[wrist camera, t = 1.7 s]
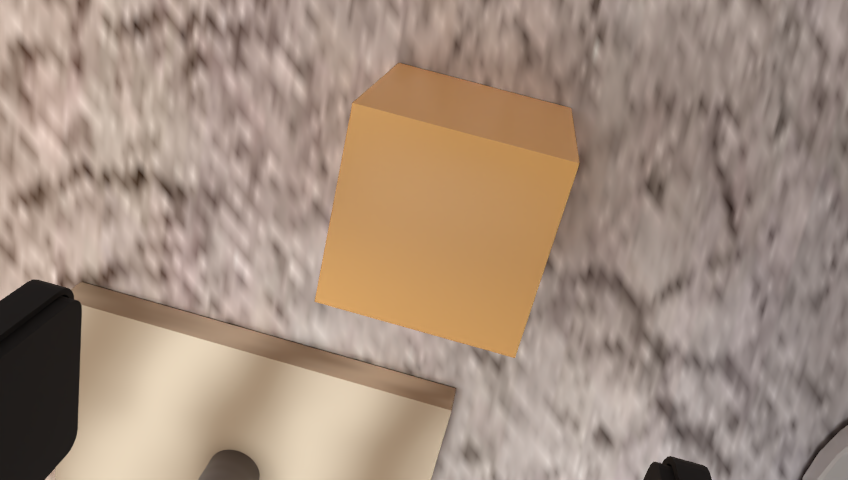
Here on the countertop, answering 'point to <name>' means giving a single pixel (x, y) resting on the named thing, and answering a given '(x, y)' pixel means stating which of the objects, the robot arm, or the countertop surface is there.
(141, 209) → the countertop surface
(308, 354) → the post board
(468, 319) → the tan matte cube
